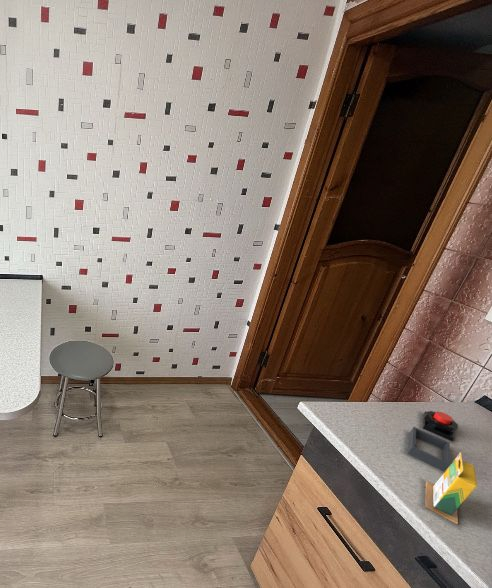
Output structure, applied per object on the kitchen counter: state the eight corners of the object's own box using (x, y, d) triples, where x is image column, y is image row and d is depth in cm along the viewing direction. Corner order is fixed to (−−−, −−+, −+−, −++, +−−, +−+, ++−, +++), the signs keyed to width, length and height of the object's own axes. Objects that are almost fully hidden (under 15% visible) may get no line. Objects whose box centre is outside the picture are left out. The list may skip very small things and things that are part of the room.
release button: (432, 414, 98) (435, 409, 98) (449, 421, 96) (453, 416, 95) (432, 419, 96) (435, 415, 95) (450, 427, 94) (453, 422, 93)
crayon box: (452, 517, 71) (483, 480, 66) (432, 506, 73) (461, 470, 68) (450, 495, 76) (479, 459, 71) (432, 486, 78) (459, 451, 73)
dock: (444, 449, 89) (449, 442, 88) (445, 472, 82) (451, 465, 81) (409, 433, 94) (413, 426, 93) (407, 453, 87) (412, 446, 86)
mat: (455, 497, 76) (456, 496, 76) (457, 524, 70) (458, 523, 70) (425, 482, 79) (426, 481, 79) (425, 506, 73) (426, 505, 73)
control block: (422, 413, 102) (427, 406, 101) (451, 425, 98) (457, 418, 97) (421, 428, 96) (426, 420, 95) (453, 442, 92) (458, 434, 91)
